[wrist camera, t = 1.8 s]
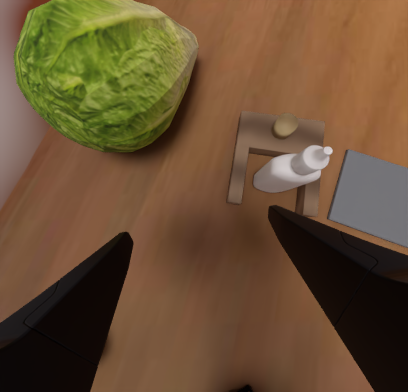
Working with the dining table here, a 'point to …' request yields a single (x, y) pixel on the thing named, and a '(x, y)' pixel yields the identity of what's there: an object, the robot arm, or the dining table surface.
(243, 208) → the dining table surface
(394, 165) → the slate mat
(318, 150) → the eye dropper bottle
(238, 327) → the dining table surface
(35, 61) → the lettuce
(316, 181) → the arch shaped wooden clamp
